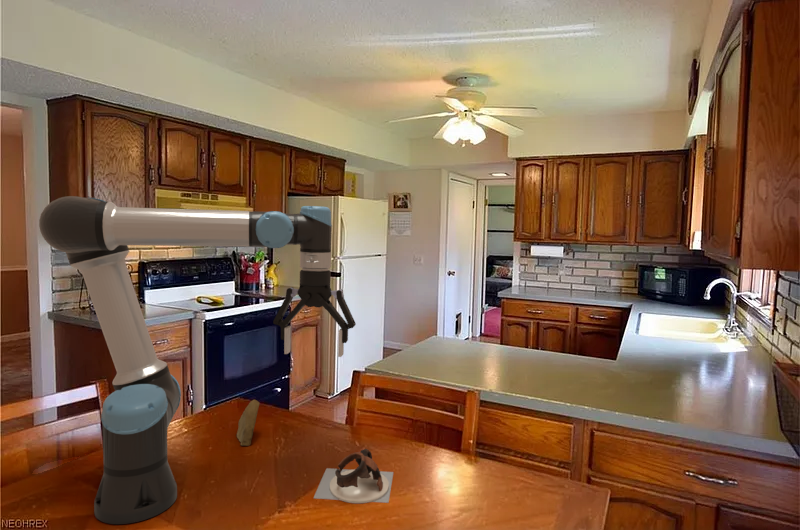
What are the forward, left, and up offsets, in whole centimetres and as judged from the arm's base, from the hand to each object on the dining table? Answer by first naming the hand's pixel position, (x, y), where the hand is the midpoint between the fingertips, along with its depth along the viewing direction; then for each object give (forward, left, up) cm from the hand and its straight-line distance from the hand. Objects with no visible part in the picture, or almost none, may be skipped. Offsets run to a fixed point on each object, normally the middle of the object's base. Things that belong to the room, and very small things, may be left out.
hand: (314, 354), depth 123 cm
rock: (-21, +8, -27) cm, 35 cm away
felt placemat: (+13, -14, -26) cm, 32 cm away
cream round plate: (+14, -15, -26) cm, 33 cm away
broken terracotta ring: (+15, -15, -25) cm, 33 cm away
